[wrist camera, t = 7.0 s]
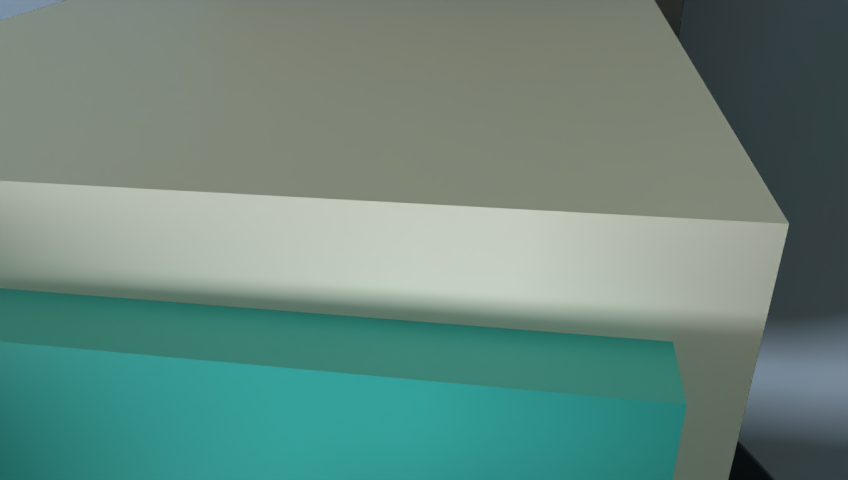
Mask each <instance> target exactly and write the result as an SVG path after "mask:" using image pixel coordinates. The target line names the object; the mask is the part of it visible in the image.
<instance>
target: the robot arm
mask: <svg viewBox="0 0 848 480" xmlns="http://www.w3.org/2000/svg"><path fill="white" fill-rule="evenodd" d="M728 480H775V479H774V478H773V477H772V476H771V475H770V474H769V472H768V471H767V470H766V469H765V468H764V467H763V466H762V465H761V464H760V463H759V462H758V461H757V460H756V459H755V458H754V456H753V455H752V454H751V453H750V452H749V451H748V450H747V449H746V448H745V447H744V446H743V445H742V444H741V443H740V442H739V440H738V441H737V445H736V449H735V454H734V458H733V462H732V466H731V470H730V475H729V479H728Z"/></svg>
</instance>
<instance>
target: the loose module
mask: <svg viewBox="0 0 848 480" xmlns="http://www.w3.org/2000/svg"><path fill="white" fill-rule="evenodd" d="M788 227H789V223H788V221H787V219H786V218H785V216H784V214H783V213H782V211H781V210H780V208H779V206H778V205H777V203H776V201H775V200H774V198H773V196H772V195H771V193H770V191H769V190H768V188H767V186H766V185H765V183H764V181H763V180H762V178H761V176H760V175H759V173H758V171H757V170H756V168H755V166H754V165H753V163H752V161H751V160H750V158H749V156H748V155H747V153H746V151H745V150H744V148H743V146H742V145H741V143H740V141H739V140H738V138H737V136H736V135H735V133H734V131H733V130H732V128H731V126H730V125H729V123H728V122H727V120H726V118H725V117H724V115H723V113H722V112H721V110H720V108H719V107H718V105H717V103H716V102H715V100H714V98H713V97H712V95H711V93H710V92H709V90H708V88H707V87H706V85H705V83H704V82H703V80H702V78H701V77H700V75H699V73H698V72H697V70H696V68H695V67H694V65H693V63H692V62H691V60H690V58H689V57H688V55H687V53H686V52H685V50H684V48H683V47H682V45H681V43H680V42H679V40H678V38H677V37H676V35H675V34H674V32H673V30H672V29H671V27H670V25H669V24H668V22H667V20H666V19H665V17H664V15H663V14H662V12H661V10H660V9H659V7H658V5H657V4H656V2H655V0H66V1H63V2H60V3H56V4H53V5H50V6H46V7H43V8H40V9H37V10H33V11H30V12H27V13H24V14H20V15H17V16H14V17H11V18H7V19H4V20H1V21H0V480H728V479H729V475H730V470H731V466H732V462H733V458H734V454H735V449H736V445H737V441H738V437H739V433H740V428H741V424H742V420H743V416H744V412H745V407H746V403H747V399H748V395H749V391H750V386H751V382H752V378H753V374H754V370H755V366H756V361H757V357H758V353H759V349H760V345H761V340H762V336H763V332H764V328H765V324H766V319H767V315H768V311H769V307H770V303H771V298H772V294H773V290H774V286H775V282H776V277H777V273H778V269H779V265H780V261H781V256H782V252H783V248H784V244H785V240H786V235H787V231H788Z"/></svg>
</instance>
